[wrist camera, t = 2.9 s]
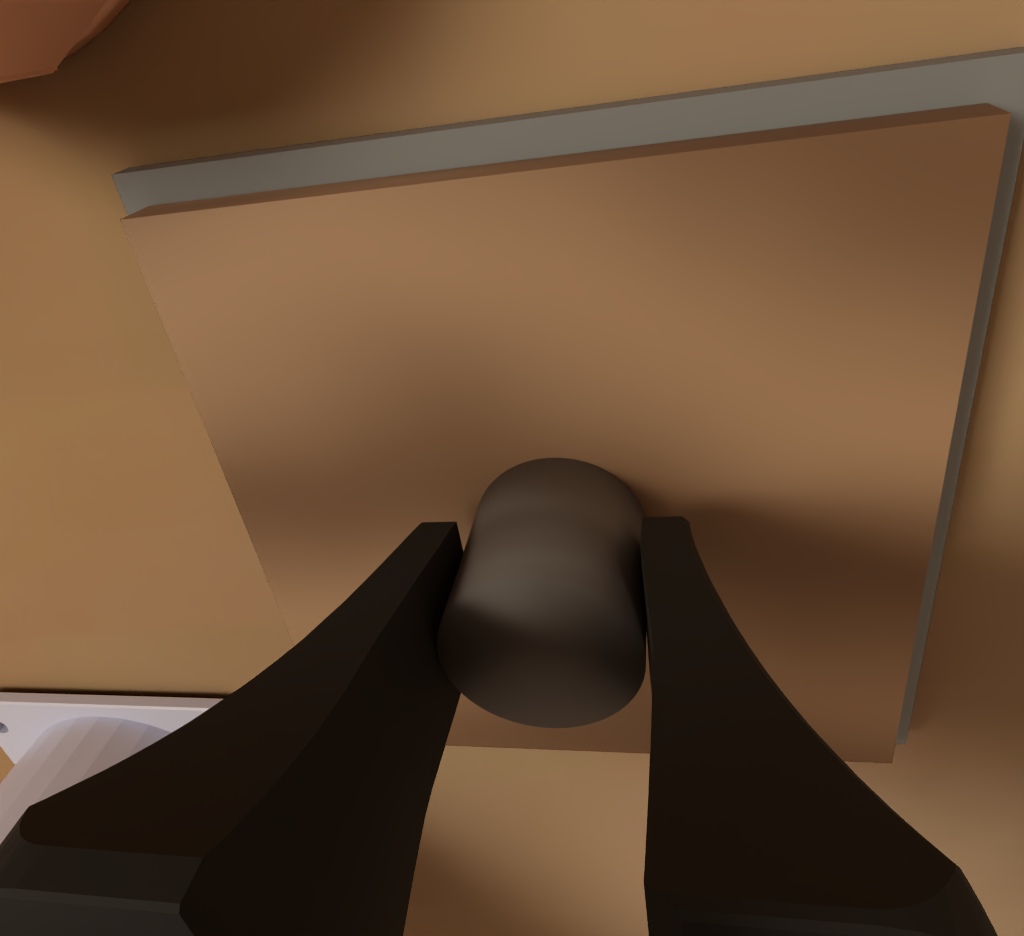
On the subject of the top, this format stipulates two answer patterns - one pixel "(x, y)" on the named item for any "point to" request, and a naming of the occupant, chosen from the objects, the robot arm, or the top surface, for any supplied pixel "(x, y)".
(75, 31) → the terracotta bowl
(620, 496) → the walnut cover
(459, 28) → the top surface
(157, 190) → the slate mat
